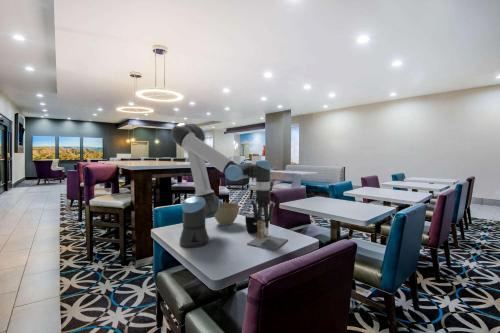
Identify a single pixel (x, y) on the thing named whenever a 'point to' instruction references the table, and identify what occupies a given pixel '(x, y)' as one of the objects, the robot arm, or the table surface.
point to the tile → (261, 228)
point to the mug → (251, 223)
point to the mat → (268, 242)
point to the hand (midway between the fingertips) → (263, 232)
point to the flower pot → (227, 213)
